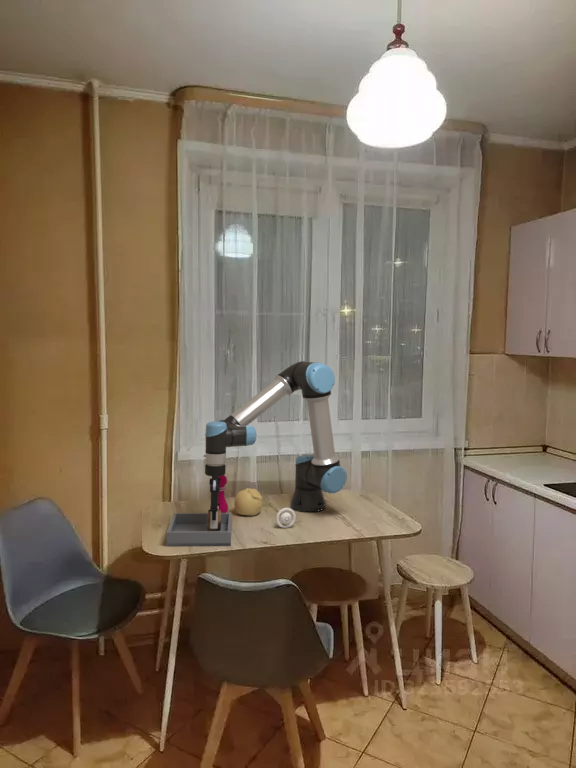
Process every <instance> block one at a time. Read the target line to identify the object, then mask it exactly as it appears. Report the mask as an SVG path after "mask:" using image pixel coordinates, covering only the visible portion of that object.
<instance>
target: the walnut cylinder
mask: <svg viewBox="0 0 576 768" xmlns="http://www.w3.org/2000/svg"><path fill="white" fill-rule="evenodd" d="M209 510H210V509H208V510H207V513H208V514H207V530H208V531H220V530H221V510H218V529H210V511H209Z"/></svg>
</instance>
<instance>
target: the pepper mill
mask: <svg viewBox="0 0 576 768" xmlns="http://www.w3.org/2000/svg"><path fill="white" fill-rule="evenodd" d="M218 477H219V479H221V482H220V489H219V496H218V500H219V502H218V503H220V506H219V507H218V510H221V513H228V511H229V505H228V502H227V500H226V497H225V491H226V490H227V489H226V485H227V483H228V479H227V476H226V474H225V475H223V476H218ZM210 509H211V505H210V508H209V510H210Z"/></svg>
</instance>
